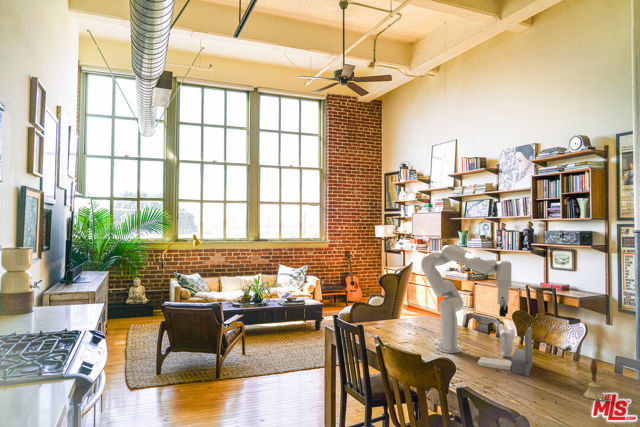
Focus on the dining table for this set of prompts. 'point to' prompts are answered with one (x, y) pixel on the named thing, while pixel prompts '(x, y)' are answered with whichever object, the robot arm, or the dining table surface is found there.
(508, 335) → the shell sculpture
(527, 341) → the gray l-shaped bracket
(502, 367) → the ceramic tile
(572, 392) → the dining table surface
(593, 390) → the hand bell
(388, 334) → the dining table surface
